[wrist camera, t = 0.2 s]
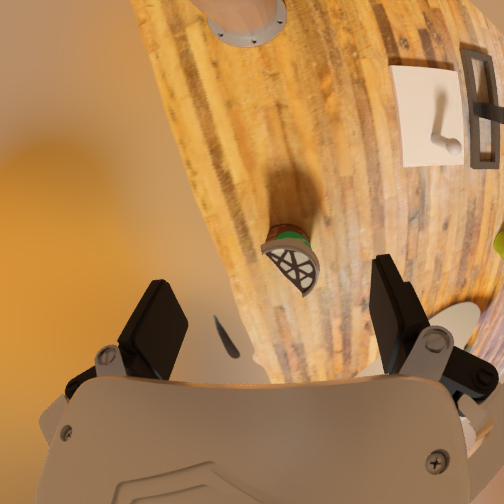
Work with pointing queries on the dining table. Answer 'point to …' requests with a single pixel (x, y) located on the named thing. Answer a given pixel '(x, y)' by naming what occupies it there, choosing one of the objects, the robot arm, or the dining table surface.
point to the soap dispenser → (499, 244)
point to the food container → (293, 256)
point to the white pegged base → (428, 116)
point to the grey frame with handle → (482, 110)
